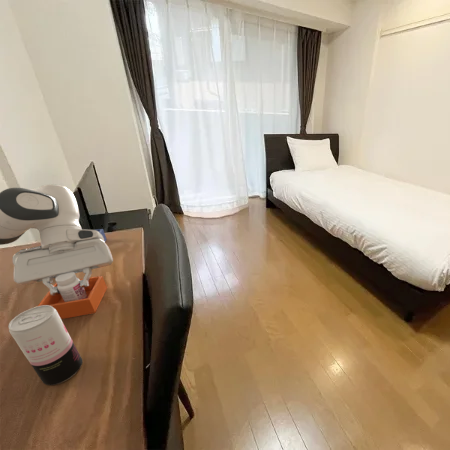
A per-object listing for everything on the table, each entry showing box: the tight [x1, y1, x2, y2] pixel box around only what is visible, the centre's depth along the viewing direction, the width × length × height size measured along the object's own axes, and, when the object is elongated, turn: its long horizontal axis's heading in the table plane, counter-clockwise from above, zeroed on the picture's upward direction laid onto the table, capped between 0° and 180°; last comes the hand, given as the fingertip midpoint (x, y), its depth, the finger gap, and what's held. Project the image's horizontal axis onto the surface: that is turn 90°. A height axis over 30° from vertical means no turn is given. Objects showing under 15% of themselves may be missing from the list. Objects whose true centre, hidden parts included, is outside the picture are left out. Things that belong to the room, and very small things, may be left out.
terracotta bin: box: [37, 275, 108, 320], centre depth 72 cm, size 11×10×5 cm
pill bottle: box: [54, 272, 88, 302], centre depth 71 cm, size 5×5×8 cm
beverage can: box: [8, 305, 83, 386], centre depth 53 cm, size 7×7×15 cm
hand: (70, 290), depth 71 cm, fingers closed on pill bottle, 5 cm apart
